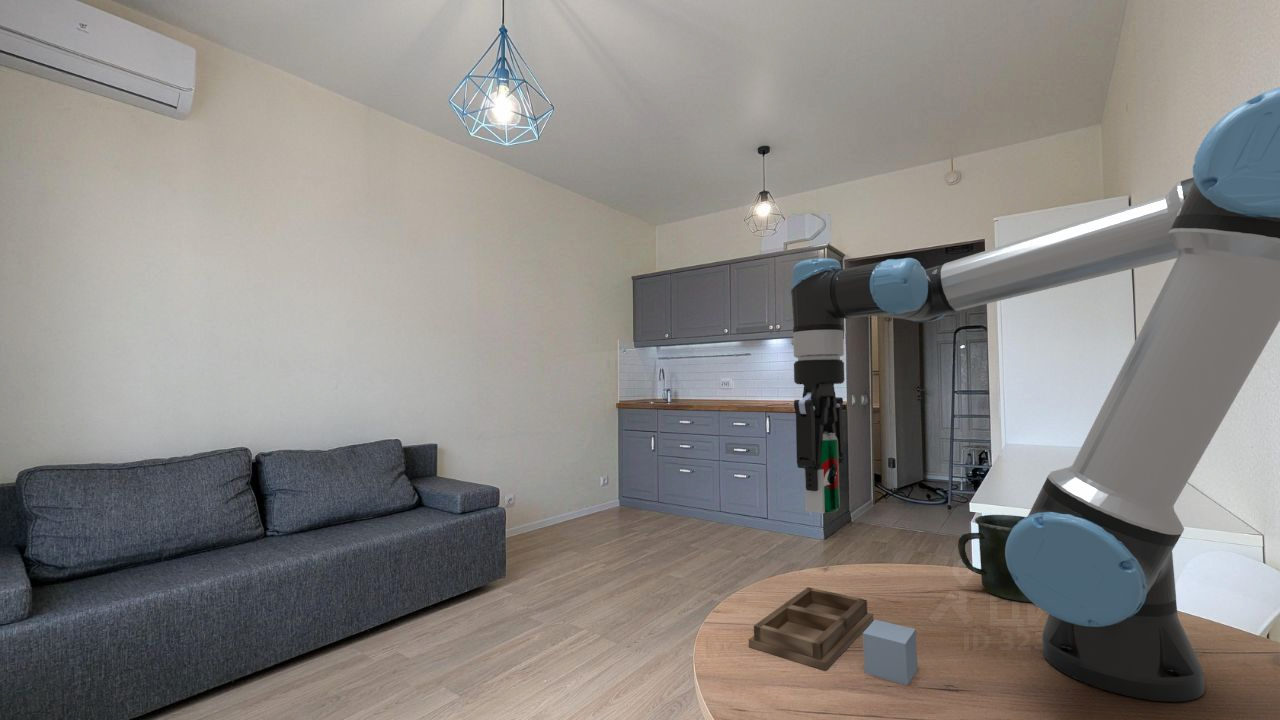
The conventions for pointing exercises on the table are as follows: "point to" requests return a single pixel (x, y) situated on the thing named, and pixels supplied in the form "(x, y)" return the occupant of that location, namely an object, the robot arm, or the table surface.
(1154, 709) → the table surface
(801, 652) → the caddy
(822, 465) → the soda can
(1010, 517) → the mug
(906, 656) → the block
